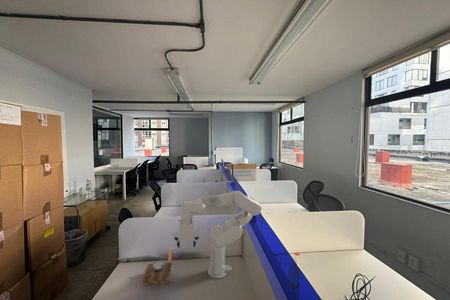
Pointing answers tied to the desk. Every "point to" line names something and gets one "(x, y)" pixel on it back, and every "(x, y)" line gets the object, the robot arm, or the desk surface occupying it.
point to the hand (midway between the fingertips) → (186, 246)
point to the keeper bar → (169, 255)
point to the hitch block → (158, 274)
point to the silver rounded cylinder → (158, 266)
